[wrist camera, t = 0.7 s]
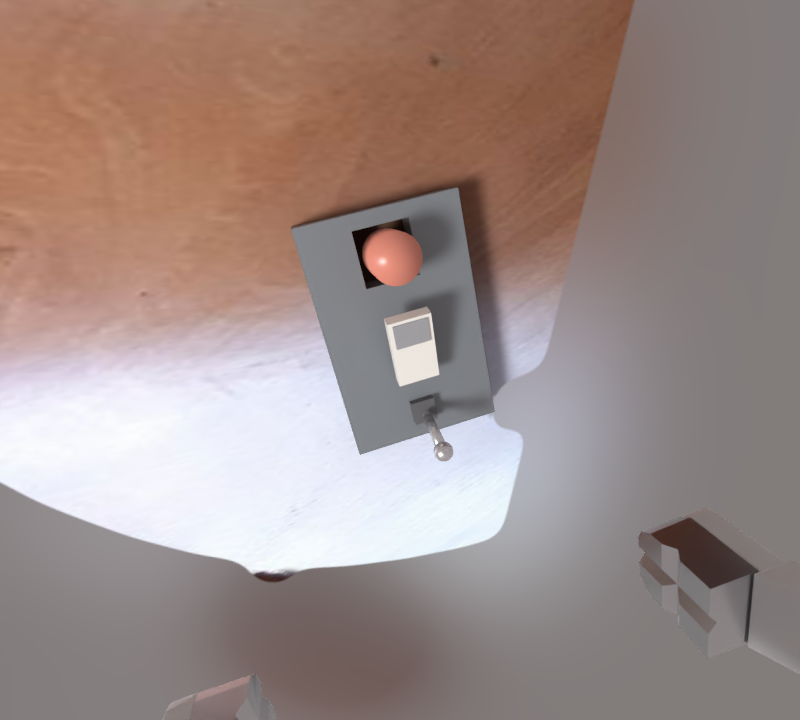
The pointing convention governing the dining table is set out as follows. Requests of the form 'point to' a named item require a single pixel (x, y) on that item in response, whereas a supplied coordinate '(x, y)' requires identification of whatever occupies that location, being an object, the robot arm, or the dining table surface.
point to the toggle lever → (437, 439)
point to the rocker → (412, 346)
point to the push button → (392, 256)
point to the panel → (373, 301)
